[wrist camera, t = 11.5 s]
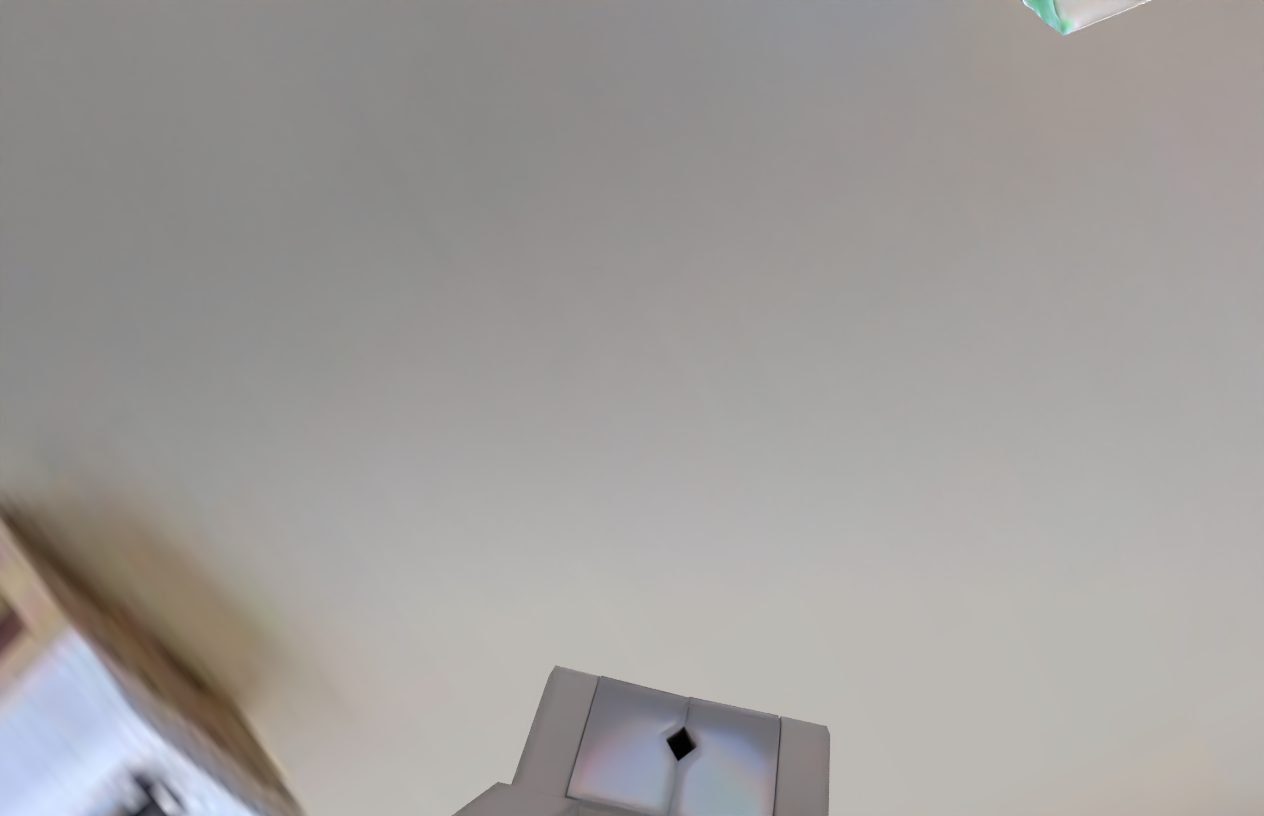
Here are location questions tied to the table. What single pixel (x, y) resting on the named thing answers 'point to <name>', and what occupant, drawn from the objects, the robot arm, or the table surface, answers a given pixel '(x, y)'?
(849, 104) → the table surface
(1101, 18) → the stack of blocks
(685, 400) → the table surface
